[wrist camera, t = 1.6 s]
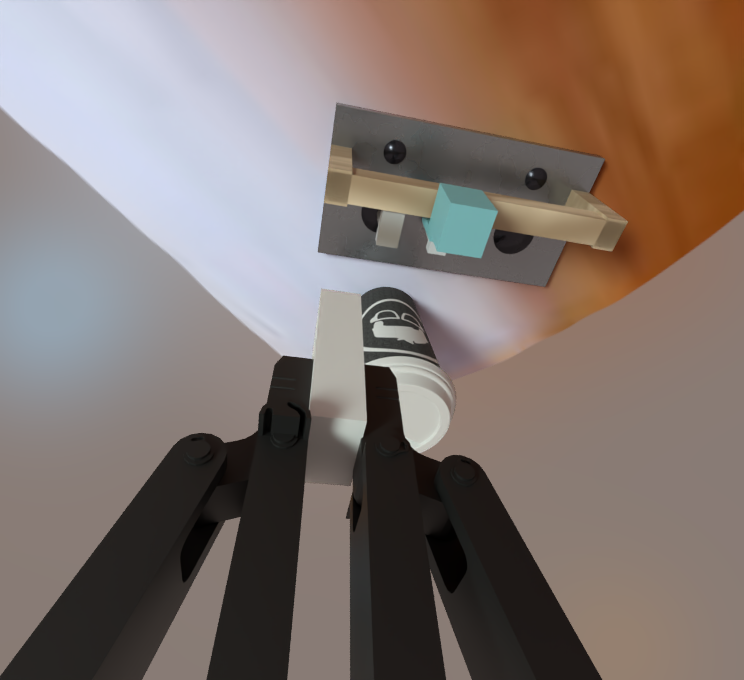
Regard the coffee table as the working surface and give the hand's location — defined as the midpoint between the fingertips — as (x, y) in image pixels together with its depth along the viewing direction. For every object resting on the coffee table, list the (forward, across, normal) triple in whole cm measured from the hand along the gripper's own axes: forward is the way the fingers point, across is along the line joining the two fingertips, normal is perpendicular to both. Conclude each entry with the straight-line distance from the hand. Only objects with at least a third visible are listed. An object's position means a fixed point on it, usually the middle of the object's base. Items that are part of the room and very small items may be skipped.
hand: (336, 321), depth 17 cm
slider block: (+22, +8, -1) cm, 24 cm away
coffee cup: (+24, +6, -14) cm, 28 cm away
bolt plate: (+24, +10, -2) cm, 26 cm away
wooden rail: (+23, +10, -1) cm, 25 cm away
